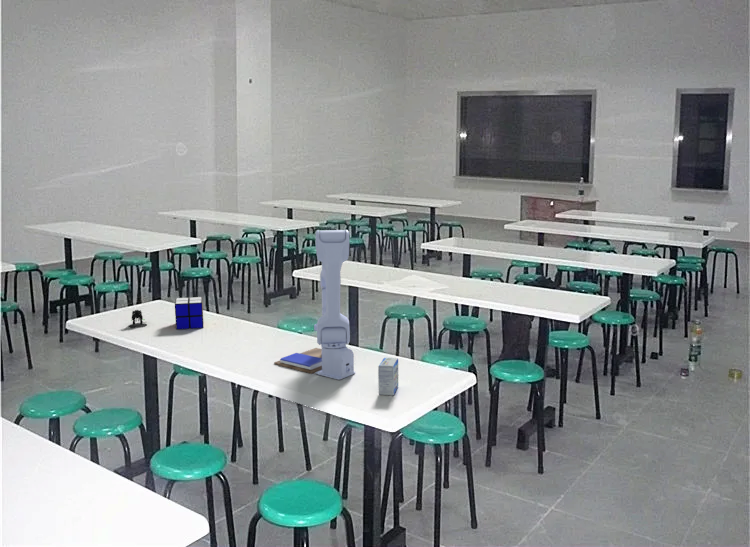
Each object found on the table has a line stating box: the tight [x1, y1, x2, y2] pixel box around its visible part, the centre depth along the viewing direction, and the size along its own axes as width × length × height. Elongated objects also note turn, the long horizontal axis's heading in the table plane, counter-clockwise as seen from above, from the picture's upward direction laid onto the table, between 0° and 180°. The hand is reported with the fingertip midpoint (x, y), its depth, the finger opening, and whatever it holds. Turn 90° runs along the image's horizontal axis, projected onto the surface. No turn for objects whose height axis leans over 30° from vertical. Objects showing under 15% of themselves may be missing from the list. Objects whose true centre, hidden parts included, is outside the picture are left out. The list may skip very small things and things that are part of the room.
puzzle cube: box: [174, 296, 204, 330], centre depth 271 cm, size 10×10×10 cm
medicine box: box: [377, 357, 399, 396], centre depth 202 cm, size 8×4×9 cm, turn 168°
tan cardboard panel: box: [273, 347, 322, 375], centre depth 229 cm, size 16×20×4 cm
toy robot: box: [127, 309, 148, 329], centre depth 271 cm, size 12×12×12 cm
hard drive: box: [279, 352, 322, 370], centre depth 225 cm, size 2×8×12 cm
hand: (331, 347), depth 236 cm, fingers closed on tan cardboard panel, 2 cm apart
